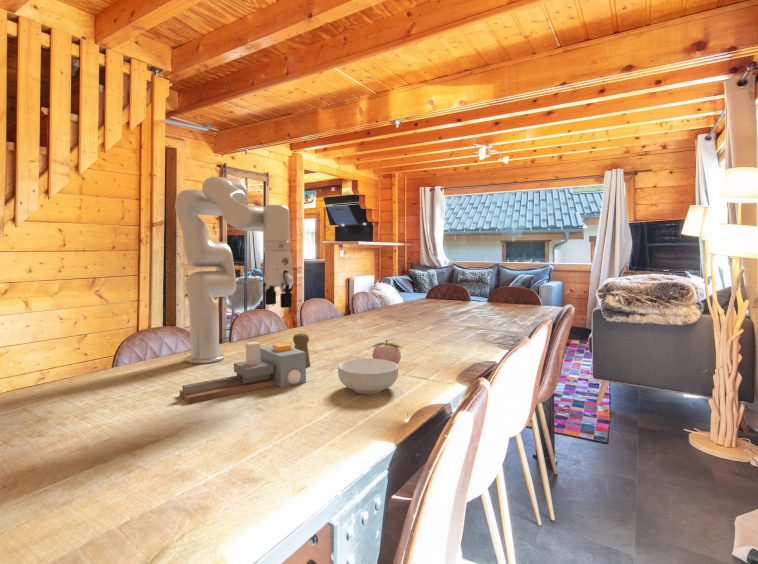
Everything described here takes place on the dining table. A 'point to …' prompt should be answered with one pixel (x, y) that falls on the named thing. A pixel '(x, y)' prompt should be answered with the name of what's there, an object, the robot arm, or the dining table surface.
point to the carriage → (253, 365)
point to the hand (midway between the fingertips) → (278, 305)
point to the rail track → (221, 388)
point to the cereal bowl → (367, 374)
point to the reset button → (281, 347)
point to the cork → (302, 345)
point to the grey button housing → (286, 365)
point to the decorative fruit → (387, 352)
